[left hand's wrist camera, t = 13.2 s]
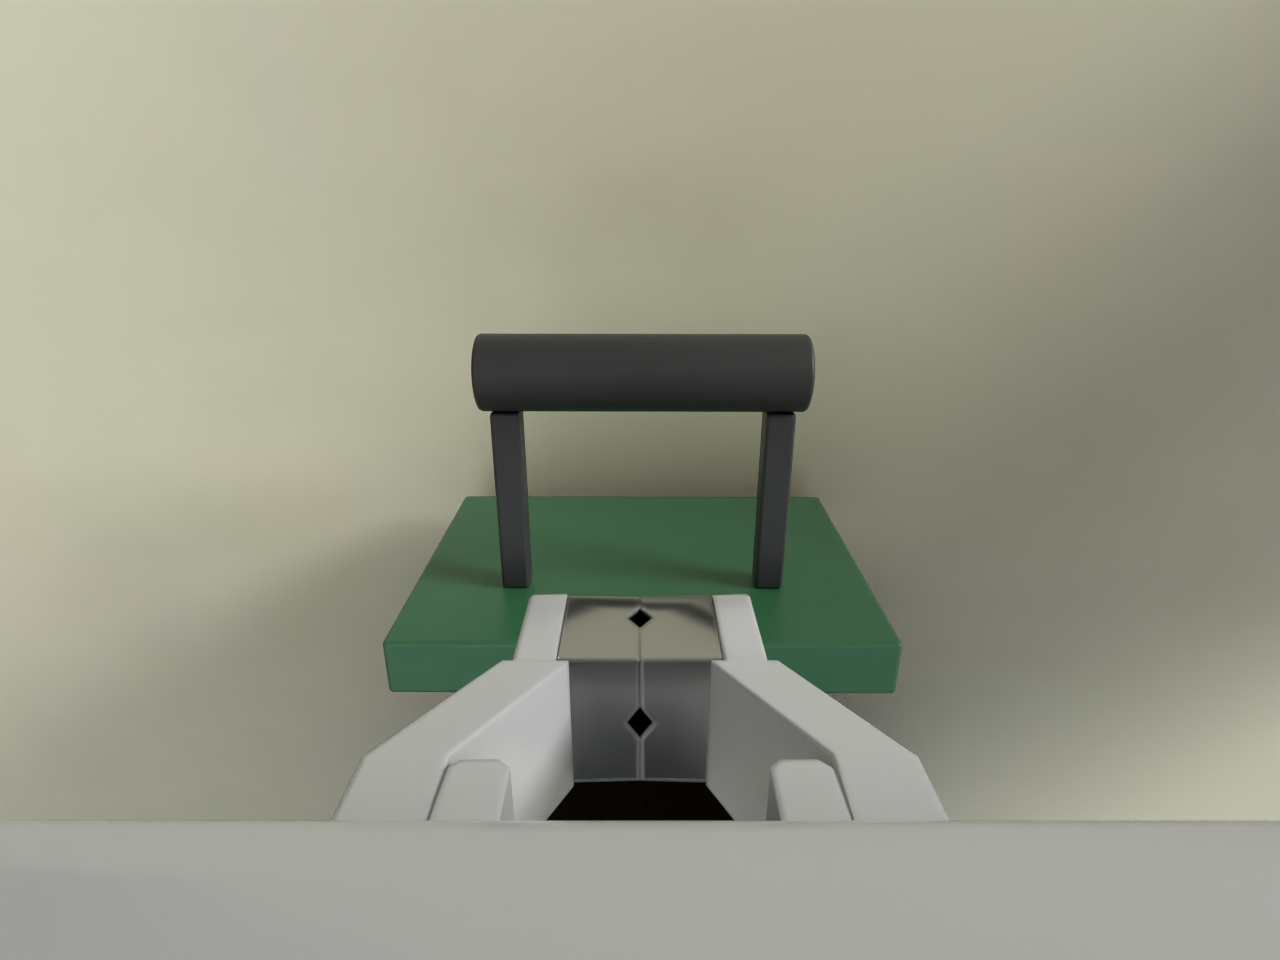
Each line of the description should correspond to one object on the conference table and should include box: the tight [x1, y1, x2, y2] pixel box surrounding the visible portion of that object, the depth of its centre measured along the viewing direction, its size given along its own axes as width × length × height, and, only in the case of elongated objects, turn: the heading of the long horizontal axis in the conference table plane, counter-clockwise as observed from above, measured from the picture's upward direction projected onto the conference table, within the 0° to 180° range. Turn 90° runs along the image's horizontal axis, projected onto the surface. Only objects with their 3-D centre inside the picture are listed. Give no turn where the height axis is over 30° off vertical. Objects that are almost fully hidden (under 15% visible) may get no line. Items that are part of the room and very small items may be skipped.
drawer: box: [383, 334, 902, 821], centre depth 19 cm, size 19×10×7 cm, turn 0°
